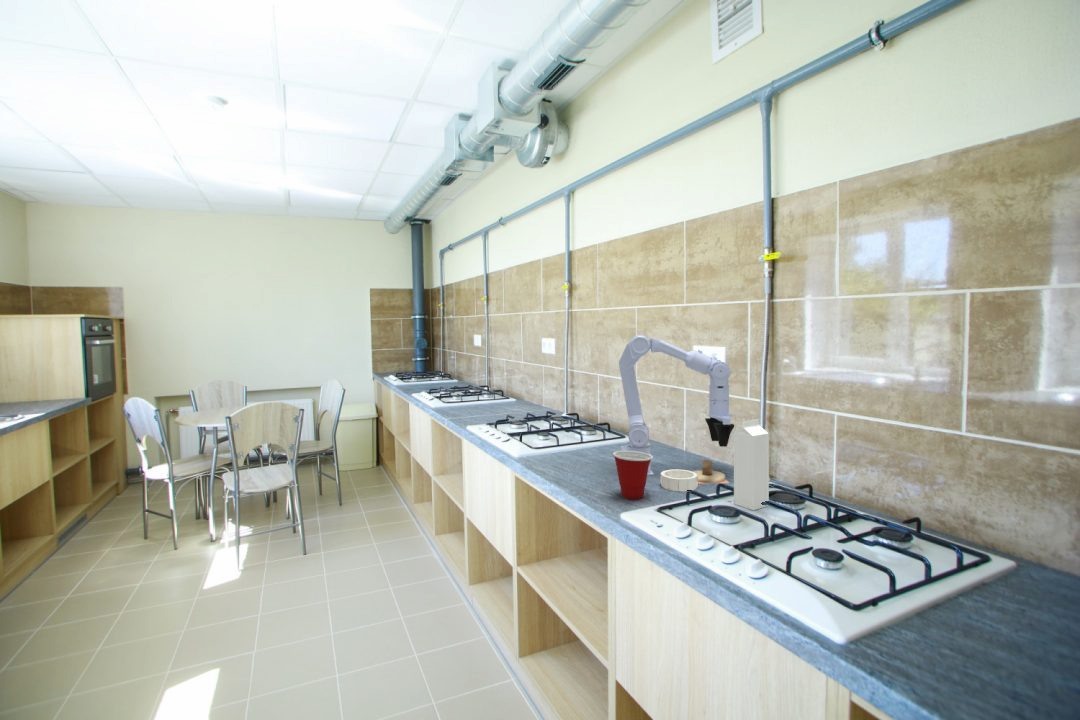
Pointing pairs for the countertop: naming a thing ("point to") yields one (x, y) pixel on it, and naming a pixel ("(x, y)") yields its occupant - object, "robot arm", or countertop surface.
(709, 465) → the lid
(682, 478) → the bowl
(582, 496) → the countertop surface
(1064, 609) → the countertop surface
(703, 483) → the mat
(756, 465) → the milk
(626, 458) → the plastic cup
